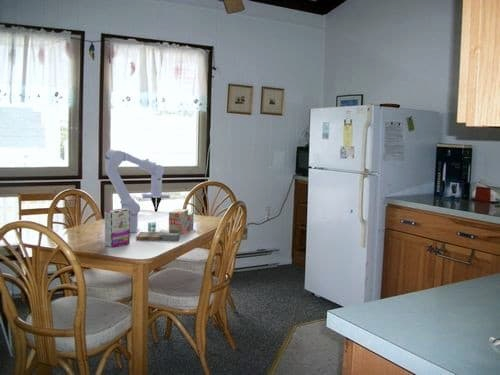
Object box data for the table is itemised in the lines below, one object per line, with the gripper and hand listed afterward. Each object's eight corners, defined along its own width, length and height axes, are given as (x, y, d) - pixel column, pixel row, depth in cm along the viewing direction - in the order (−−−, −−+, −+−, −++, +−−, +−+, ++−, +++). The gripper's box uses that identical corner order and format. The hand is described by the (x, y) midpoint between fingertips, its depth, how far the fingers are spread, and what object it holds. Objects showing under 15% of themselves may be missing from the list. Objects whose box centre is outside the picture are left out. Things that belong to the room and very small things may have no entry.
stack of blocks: (182, 228, 265) (183, 206, 264) (193, 229, 264) (194, 207, 262) (168, 235, 244) (168, 211, 243) (179, 236, 243) (180, 212, 242)
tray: (161, 240, 231) (161, 234, 231) (164, 236, 241) (164, 230, 241) (178, 241, 231) (178, 235, 231) (180, 236, 241) (180, 231, 241)
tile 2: (168, 239, 234) (168, 235, 233) (169, 237, 238) (169, 233, 238) (177, 239, 234) (177, 235, 234) (178, 237, 238) (178, 233, 238)
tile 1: (158, 234, 233) (159, 230, 233) (160, 233, 238) (161, 229, 238) (167, 237, 234) (168, 233, 233) (169, 235, 238) (170, 231, 238)
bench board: (136, 240, 230) (136, 236, 230) (140, 235, 241) (140, 231, 240) (161, 241, 230) (161, 237, 230) (163, 236, 241) (163, 232, 241)
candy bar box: (122, 242, 225) (122, 207, 224) (130, 243, 223) (130, 209, 221) (103, 246, 216) (104, 210, 214) (111, 247, 213) (111, 211, 212)
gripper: (142, 187, 253) (142, 212, 255) (170, 187, 256) (169, 212, 257) (143, 185, 260) (142, 210, 261) (169, 186, 263) (169, 210, 264)
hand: (156, 211), depth 260 cm, fingers closed
